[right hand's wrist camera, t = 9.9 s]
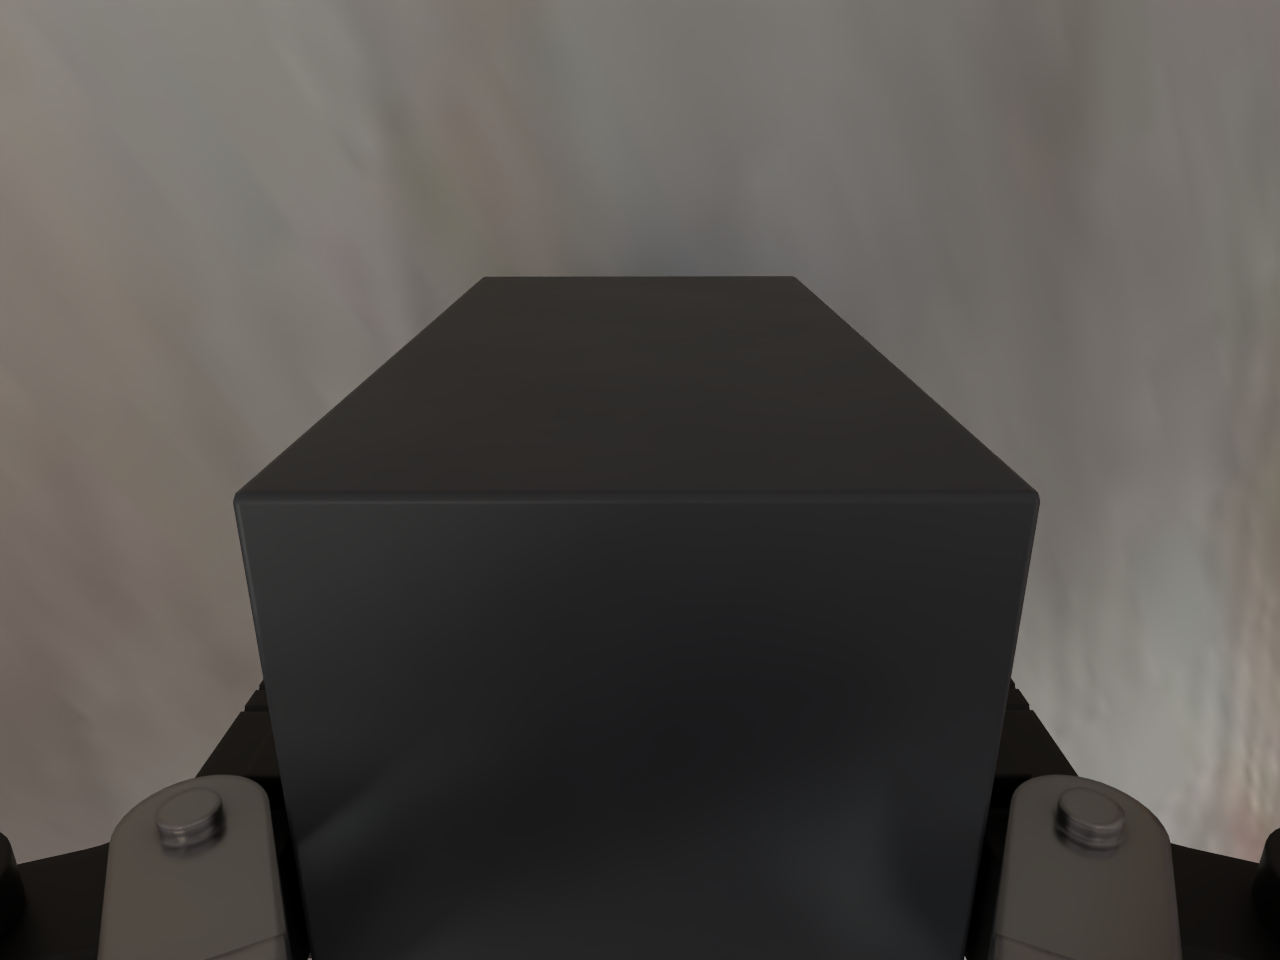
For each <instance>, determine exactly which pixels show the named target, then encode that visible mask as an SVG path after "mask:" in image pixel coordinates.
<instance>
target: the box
mask: <svg viewBox="0 0 1280 960" xmlns="http://www.w3.org/2000/svg"><path fill="white" fill-rule="evenodd" d="M233 504H234V510H235V516H236V522H237V527H238V533H239V539H240V545H241V551H242V556H243V562H244V568H245V574H246V580H247V585H248V591H249V597H250V603H251V609H252V614H253V620H254V626H255V632H256V638H257V643H258V649H259V655H260V661H261V667H262V672H263V678H264V684H265V690H266V696H267V701H268V707H269V713H270V719H271V725H272V730H273V736H274V742H275V748H276V754H277V759H278V765H279V771H280V777H281V783H282V788H283V794H284V800H285V806H286V812H287V817H288V823H289V829H290V835H291V841H292V846H293V852H294V858H295V864H296V870H297V875H298V881H299V887H300V893H301V899H302V904H303V910H304V916H305V922H306V928H307V933H308V939H309V945H310V951H311V957H312V960H964V956H965V950H966V944H967V938H968V932H969V926H970V920H971V914H972V908H973V902H974V896H975V890H976V884H977V878H978V872H979V866H980V860H981V854H982V848H983V842H984V836H985V830H986V824H987V818H988V812H989V806H990V800H991V794H992V788H993V782H994V776H995V770H996V764H997V758H998V752H999V746H1000V740H1001V734H1002V728H1003V722H1004V716H1005V710H1006V704H1007V698H1008V692H1009V686H1010V680H1011V674H1012V668H1013V662H1014V656H1015V649H1016V643H1017V637H1018V631H1019V625H1020V619H1021V613H1022V607H1023V601H1024V595H1025V589H1026V583H1027V577H1028V571H1029V565H1030V559H1031V553H1032V547H1033V541H1034V535H1035V529H1036V523H1037V517H1038V511H1039V505H1040V499H1039V495H1038V492H1037V491H1036V490H1034V489H1033V488H1032V487H1031V486H1030V485H1029V484H1028V483H1027V482H1025V481H1024V480H1023V479H1022V478H1021V477H1020V476H1019V475H1018V474H1016V473H1015V472H1014V471H1013V470H1012V469H1011V468H1010V467H1009V466H1007V465H1006V464H1005V463H1004V462H1003V461H1002V460H1001V459H999V458H998V457H997V456H996V455H995V454H994V453H993V452H992V451H990V450H989V449H988V448H987V447H986V446H985V445H984V444H983V443H981V442H980V441H979V440H978V439H977V438H976V437H975V436H974V435H972V434H971V433H970V432H969V431H968V430H967V429H966V428H965V427H963V426H962V425H961V424H960V423H959V422H958V421H957V420H956V419H954V418H953V417H952V416H951V415H950V414H949V413H948V412H947V411H945V410H944V409H943V408H942V407H941V406H940V405H939V404H938V403H936V402H935V401H934V400H933V399H932V398H931V397H930V396H928V395H927V394H926V393H925V392H924V391H923V390H922V389H921V388H919V387H918V386H917V385H916V384H915V383H914V382H913V381H912V380H910V379H909V378H908V377H907V376H906V375H905V374H904V373H903V372H901V371H900V370H899V369H898V368H897V367H896V366H895V365H894V364H892V363H891V362H890V361H889V360H888V359H887V358H886V357H885V356H883V355H882V354H881V353H880V352H879V351H878V350H877V349H876V348H874V347H873V346H872V345H871V344H870V343H869V342H868V341H867V340H865V339H864V338H863V337H862V336H861V335H860V334H859V333H857V332H856V331H855V330H854V329H853V328H852V327H851V326H850V325H848V324H847V323H846V322H845V321H844V320H843V319H842V318H841V317H839V316H838V315H837V314H836V313H835V312H834V311H833V310H832V309H830V308H829V307H828V306H827V305H826V304H825V303H824V302H823V301H821V300H820V299H819V298H818V297H817V296H816V295H815V294H814V293H812V292H811V291H810V290H809V289H808V288H807V287H806V286H805V285H803V284H802V283H801V282H800V281H799V280H798V279H797V278H795V277H793V276H707V277H484V278H482V279H481V280H480V281H479V282H477V283H476V284H475V285H474V286H473V287H472V288H471V289H469V290H468V291H467V292H466V293H465V294H464V295H463V296H461V297H460V298H459V299H458V300H457V301H456V302H454V303H453V304H452V305H451V306H450V307H449V308H448V309H446V310H445V311H444V312H443V313H442V314H441V315H440V316H438V317H437V318H436V319H435V320H434V321H433V322H432V323H430V324H429V325H428V326H427V327H426V328H425V329H424V330H422V331H421V332H420V333H419V334H418V335H417V336H415V337H414V338H413V339H412V340H411V341H410V342H409V343H407V344H406V345H405V346H404V347H403V348H402V349H401V350H399V351H398V352H397V353H396V354H395V355H394V356H393V357H391V358H390V359H389V360H388V361H387V362H386V363H385V364H383V365H382V366H381V367H380V368H379V369H378V370H376V371H375V372H374V373H373V374H372V375H371V376H370V377H368V378H367V379H366V380H365V381H364V382H363V383H362V384H360V385H359V386H358V387H357V388H356V389H355V390H354V391H352V392H351V393H350V394H349V395H348V396H347V397H346V398H344V399H343V400H342V401H341V402H340V403H339V404H337V405H336V406H335V407H334V408H333V409H332V410H331V411H329V412H328V413H327V414H326V415H325V416H324V417H323V418H321V419H320V420H319V421H318V422H317V423H316V424H315V425H313V426H312V427H311V428H310V429H309V430H308V431H307V432H305V433H304V434H303V435H302V436H301V437H300V438H299V439H297V440H296V441H295V442H294V443H293V444H292V445H290V446H289V447H288V448H287V449H286V450H285V451H284V452H282V453H281V454H280V455H279V456H278V457H277V458H276V459H274V460H273V461H272V462H271V463H270V464H269V465H268V466H266V467H265V468H264V469H263V470H262V471H261V472H260V473H258V474H257V475H256V476H255V477H254V478H253V479H251V480H250V481H249V482H248V483H247V484H246V485H245V486H243V487H242V488H241V489H240V490H239V491H238V492H237V493H235V497H234V501H233Z"/></svg>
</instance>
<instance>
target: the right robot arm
mask: <svg viewBox="0 0 1280 960" xmlns="http://www.w3.org/2000/svg"><path fill="white" fill-rule="evenodd" d="M259 686H260V687H259V690H256V691H255V692H254V694H253V695H252V697H251V698H250V699H249V701H248V702H247V704H246V705H245V711H244V712H240V714H239V715H238V717H237V718H236V720H235V721H234V722H233V724H232V725H231V727H230V728H229V730H228V731H227V732H226V734H225V735H224V737H223V738H222V740H221V741H220V743H219V744H218V745H217V747H216V748H215V750H214V751H213V753H212V754H211V755H210V757H209V758H208V760H207V761H206V763H205V764H204V766H203V767H202V768H201V770H200V771H199V773H198V774H197V776H196V777H195V778H193V779H189V780H186V781H182V782H179V783H176V784H174V785H171V786H169V787H166V788H164V789H162V790H160V791H158V792H156V793H154V794H152V795H151V796H149V797H148V798H146V799H145V800H143V801H141V802H140V803H139V804H138V805H136V806H135V807H134V808H132V809H131V810H130V811H129V812H128V813H127V814H126V815H125V816H124V817H123V818H122V820H121V821H120V822H119V824H118V825H117V826H116V828H115V830H114V832H113V834H112V836H111V840H110V842H109V843H106V844H103V845H100V846H97V847H93V848H89V849H85V850H81V851H76V852H72V853H67V854H63V855H58V856H54V857H49V858H45V859H40V860H36V861H31V862H27V863H22V864H18V865H17V863H16V860H15V857H14V854H13V850H12V847H11V844H10V842H9V840H8V839H7V837H6V836H4V835H3V834H2V833H1V832H0V960H308V958H312V957H311V951H310V945H309V939H308V933H307V928H306V922H305V916H304V910H303V904H302V899H301V893H300V887H299V881H298V875H297V870H296V864H295V858H294V852H293V846H292V841H291V835H290V829H289V823H288V817H287V812H286V806H285V800H284V794H283V788H282V783H281V777H280V771H279V765H278V759H277V754H276V748H275V742H274V736H273V730H272V725H271V719H270V713H269V707H268V701H267V696H266V690H265V684H264V679H263V681H262V682H261V684H260V685H259ZM965 957H966V959H967V960H1280V828H1279V829H1276V830H1275V831H1274V832H1273V833H1271V834H1270V835H1269V837H1268V839H1267V841H1266V843H1265V846H1264V850H1263V853H1262V856H1261V859H1260V863H1255V862H1251V861H1246V860H1241V859H1237V858H1232V857H1228V856H1223V855H1219V854H1214V853H1210V852H1205V851H1201V850H1196V849H1192V848H1187V847H1184V846H1180V845H1176V844H1172V843H1170V840H1169V836H1168V834H1167V832H1166V830H1165V828H1164V826H1163V825H1162V824H1161V822H1160V821H1159V820H1158V818H1157V817H1156V816H1155V815H1154V814H1153V813H1152V812H1151V811H1150V810H1149V809H1148V808H1146V807H1145V806H1144V805H1142V804H1141V803H1140V802H1139V801H1137V800H1135V799H1134V798H1132V797H1131V796H1129V795H1128V794H1126V793H1124V792H1122V791H1120V790H1118V789H1116V788H1114V787H1111V786H1109V785H1106V784H1104V783H1101V782H1098V781H1094V780H1091V779H1087V778H1083V777H1079V776H1078V775H1077V774H1076V772H1075V771H1074V769H1073V768H1072V766H1071V765H1070V763H1069V762H1068V760H1067V759H1066V758H1065V756H1064V755H1063V753H1062V752H1061V750H1060V749H1059V747H1058V746H1057V744H1056V743H1055V741H1054V740H1053V739H1052V737H1051V736H1050V734H1049V733H1048V731H1047V730H1046V728H1045V727H1044V725H1043V724H1042V723H1041V721H1040V720H1039V718H1038V717H1037V715H1036V714H1035V712H1034V711H1033V710H1030V709H1029V704H1028V702H1027V701H1026V699H1025V698H1024V696H1023V695H1022V693H1021V692H1020V691H1019V689H1015V683H1014V682H1013V680H1012V679H1011V680H1010V686H1009V692H1008V698H1007V704H1006V710H1005V716H1004V722H1003V728H1002V734H1001V740H1000V746H999V752H998V758H997V764H996V770H995V776H994V782H993V788H992V794H991V800H990V806H989V812H988V818H987V824H986V830H985V836H984V842H983V848H982V854H981V860H980V866H979V872H978V878H977V884H976V890H975V896H974V902H973V908H972V914H971V920H970V926H969V932H968V938H967V944H966V950H965Z"/></svg>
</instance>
